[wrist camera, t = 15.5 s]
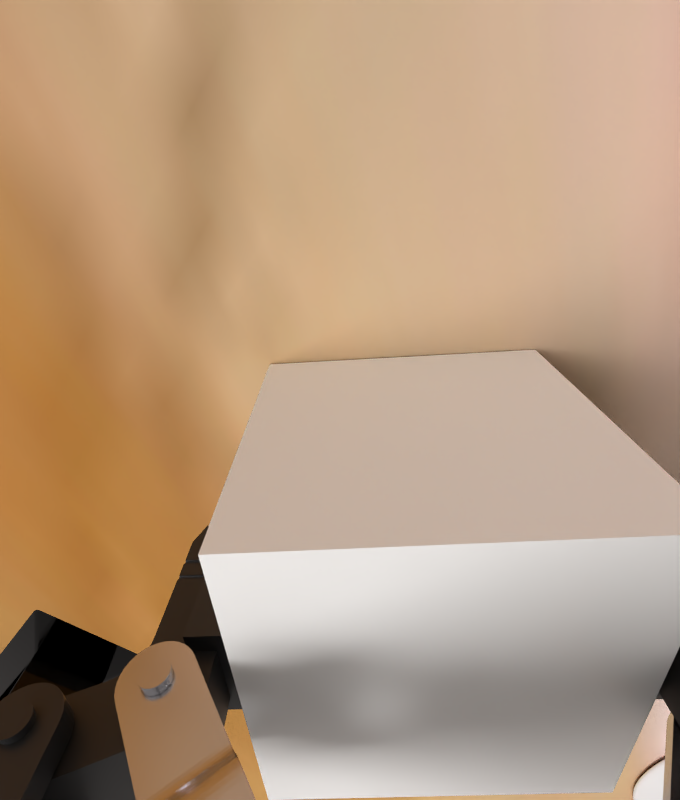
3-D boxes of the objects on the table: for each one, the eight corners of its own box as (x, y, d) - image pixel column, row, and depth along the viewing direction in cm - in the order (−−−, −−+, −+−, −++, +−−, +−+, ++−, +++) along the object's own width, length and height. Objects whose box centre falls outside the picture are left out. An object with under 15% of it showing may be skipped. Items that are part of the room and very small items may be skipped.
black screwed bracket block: (76, 752, 22) (17, 880, 18) (-74, 698, 20) (-178, 829, 16) (208, 632, 18) (169, 766, 14) (35, 546, 16) (-71, 675, 12)
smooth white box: (269, 364, 12) (198, 554, 6) (535, 349, 12) (732, 532, 6) (297, 554, 15) (268, 799, 9) (505, 546, 15) (612, 792, 9)
